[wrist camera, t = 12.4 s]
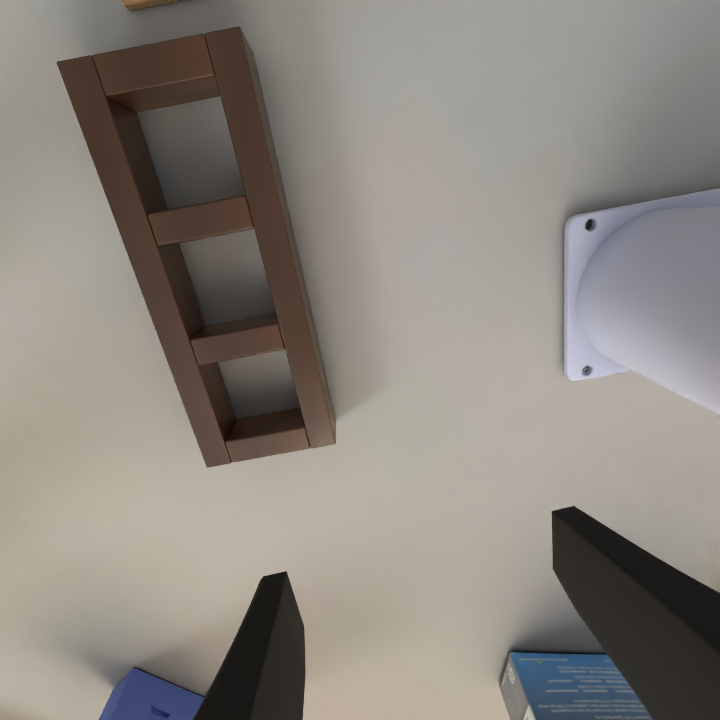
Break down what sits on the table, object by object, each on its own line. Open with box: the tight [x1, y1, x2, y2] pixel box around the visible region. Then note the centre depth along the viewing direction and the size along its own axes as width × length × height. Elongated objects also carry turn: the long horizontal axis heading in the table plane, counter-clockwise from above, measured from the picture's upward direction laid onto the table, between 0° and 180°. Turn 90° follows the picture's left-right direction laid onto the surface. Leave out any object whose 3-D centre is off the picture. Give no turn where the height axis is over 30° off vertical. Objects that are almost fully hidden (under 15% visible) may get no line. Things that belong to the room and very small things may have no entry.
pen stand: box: [57, 27, 336, 467], centre depth 17 cm, size 6×16×2 cm, turn 10°
